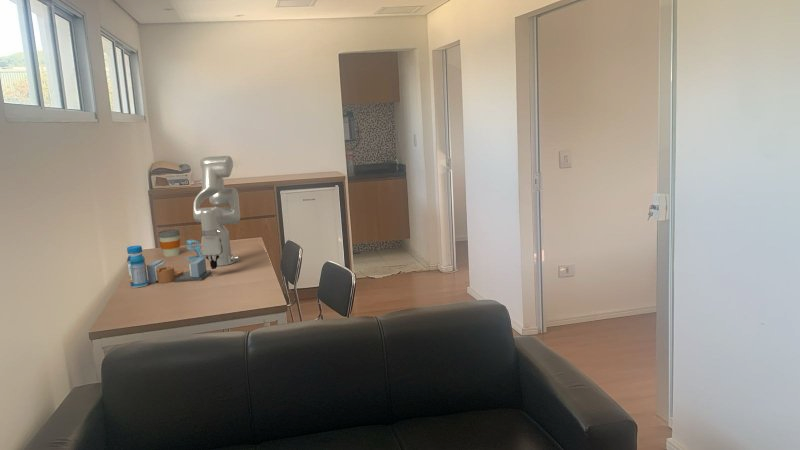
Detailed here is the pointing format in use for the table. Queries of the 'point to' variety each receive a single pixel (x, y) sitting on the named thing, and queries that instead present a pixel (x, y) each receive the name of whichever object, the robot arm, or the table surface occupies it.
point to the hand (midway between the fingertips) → (214, 268)
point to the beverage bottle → (136, 267)
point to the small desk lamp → (196, 248)
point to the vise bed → (187, 277)
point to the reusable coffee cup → (169, 242)
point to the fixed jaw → (154, 270)
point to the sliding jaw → (197, 267)
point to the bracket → (167, 274)
